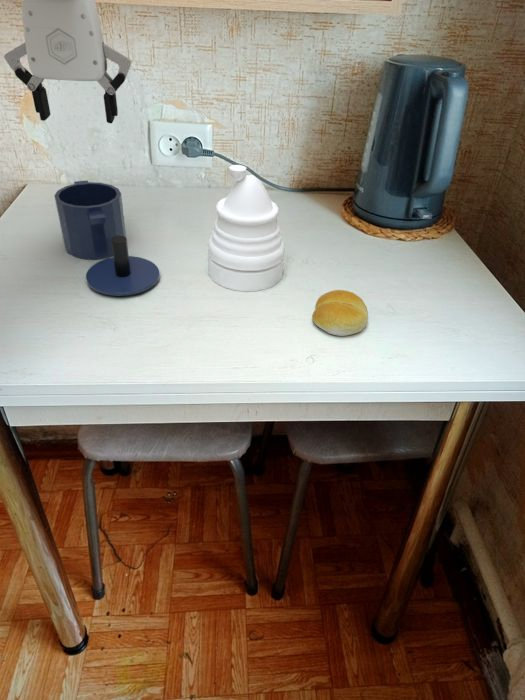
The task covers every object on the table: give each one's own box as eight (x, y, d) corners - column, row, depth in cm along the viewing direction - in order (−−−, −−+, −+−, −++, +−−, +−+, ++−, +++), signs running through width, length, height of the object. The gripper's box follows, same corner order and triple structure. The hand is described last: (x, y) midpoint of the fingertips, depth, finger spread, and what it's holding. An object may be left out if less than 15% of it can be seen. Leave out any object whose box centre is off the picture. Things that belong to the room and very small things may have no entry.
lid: (94, 304, 77) (86, 262, 73) (81, 267, 85) (73, 227, 81) (168, 291, 82) (165, 250, 77) (149, 257, 90) (145, 218, 85)
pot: (72, 271, 84) (62, 218, 78) (59, 229, 95) (48, 180, 89) (136, 261, 88) (130, 209, 82) (116, 222, 99) (110, 174, 93)
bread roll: (308, 332, 75) (311, 310, 73) (317, 300, 82) (321, 279, 80) (364, 343, 74) (369, 321, 72) (368, 310, 81) (373, 288, 78)
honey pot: (218, 295, 81) (219, 186, 70) (200, 257, 91) (198, 154, 79) (293, 286, 85) (305, 180, 74) (268, 249, 94) (275, 151, 83)
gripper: (-24, -21, 63) (12, 124, 74) (119, -12, 64) (133, 129, 75) (-4, -26, 69) (26, 110, 79) (127, -17, 70) (139, 114, 81)
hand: (78, 119), depth 77 cm, fingers open, 9 cm apart
